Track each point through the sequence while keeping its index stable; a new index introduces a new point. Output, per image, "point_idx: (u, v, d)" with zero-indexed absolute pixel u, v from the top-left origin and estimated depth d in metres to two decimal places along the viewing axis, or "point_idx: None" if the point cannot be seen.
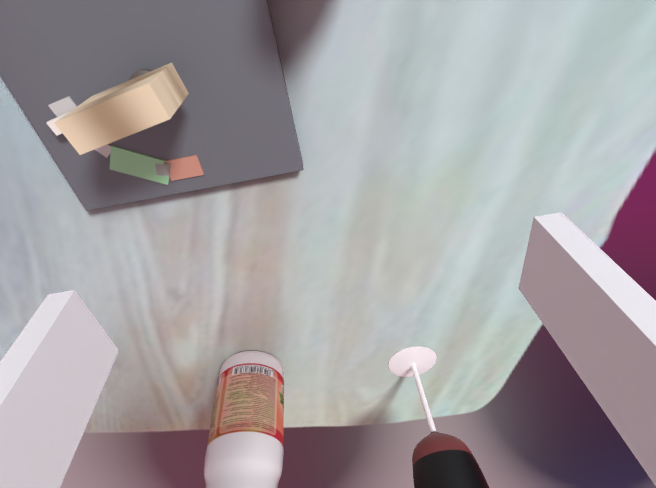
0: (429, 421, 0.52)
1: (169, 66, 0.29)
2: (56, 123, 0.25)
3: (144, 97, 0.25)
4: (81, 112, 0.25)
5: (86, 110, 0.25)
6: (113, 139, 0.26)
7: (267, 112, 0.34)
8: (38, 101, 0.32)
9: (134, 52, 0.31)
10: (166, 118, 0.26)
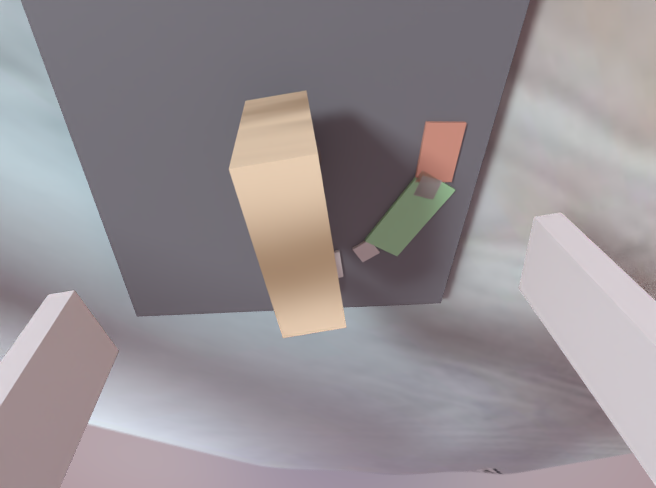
0: None
1: (246, 107, 0.14)
2: (284, 335, 0.14)
3: (259, 189, 0.11)
4: (272, 299, 0.13)
5: (270, 291, 0.13)
6: (333, 272, 0.13)
7: None
8: None
9: None
10: (313, 161, 0.10)
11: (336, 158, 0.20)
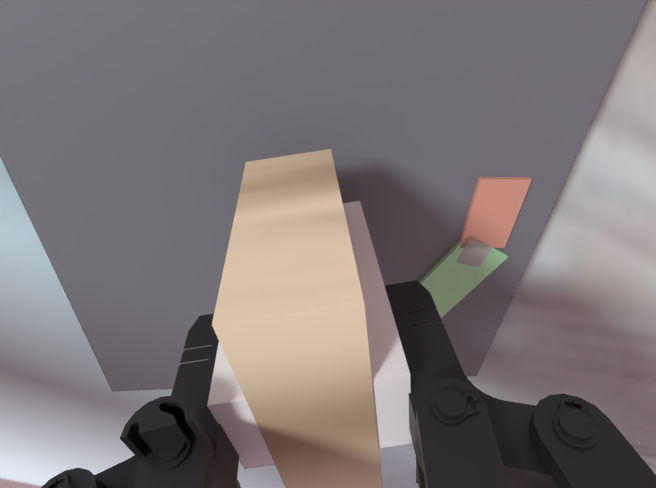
0: None
1: (246, 175, 0.10)
2: None
3: (262, 348, 0.06)
4: (279, 466, 0.09)
5: (276, 459, 0.09)
6: (372, 437, 0.09)
7: None
8: None
9: None
10: (355, 311, 0.06)
11: None
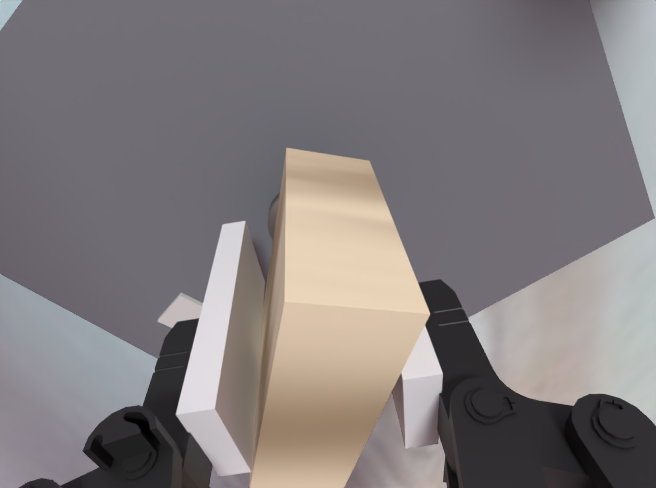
0: None
1: (289, 161, 0.10)
2: None
3: (316, 336, 0.06)
4: (257, 458, 0.09)
5: (259, 449, 0.09)
6: (360, 444, 0.09)
7: (564, 142, 0.14)
8: (141, 320, 0.18)
9: (256, 166, 0.14)
10: (417, 321, 0.06)
11: None
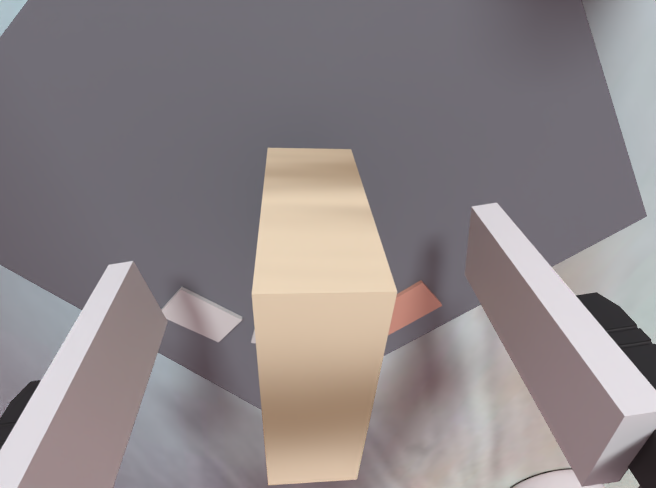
0: None
1: (269, 160, 0.10)
2: (271, 483, 0.10)
3: (291, 324, 0.07)
4: (267, 446, 0.09)
5: (266, 438, 0.09)
6: (363, 426, 0.09)
7: (558, 141, 0.14)
8: None
9: (256, 161, 0.14)
10: (387, 300, 0.07)
11: None
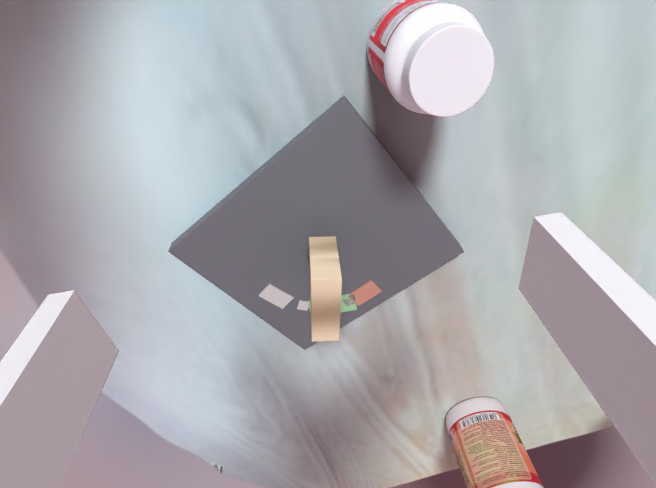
0: None
1: (310, 242, 0.34)
2: (312, 340, 0.34)
3: (319, 287, 0.30)
4: (312, 325, 0.33)
5: (312, 322, 0.33)
6: (338, 318, 0.33)
7: (416, 225, 0.38)
8: (251, 295, 0.42)
9: (303, 236, 0.38)
10: (340, 281, 0.30)
11: None
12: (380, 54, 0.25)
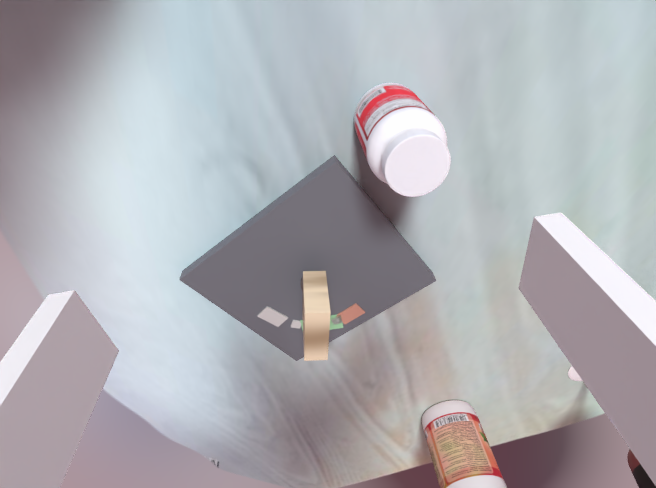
0: None
1: (304, 276, 0.40)
2: (305, 360, 0.40)
3: (311, 318, 0.37)
4: (304, 347, 0.39)
5: (305, 345, 0.39)
6: (327, 342, 0.39)
7: (395, 259, 0.44)
8: (251, 316, 0.48)
9: (297, 267, 0.44)
10: (328, 313, 0.36)
11: None
12: (364, 138, 0.31)
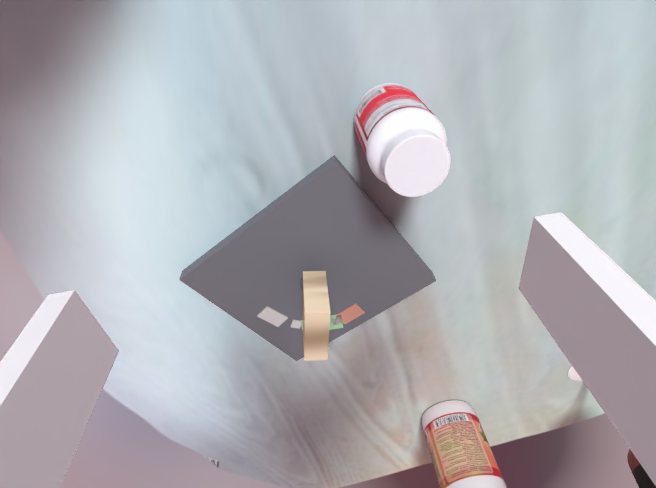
0: None
1: (304, 276, 0.40)
2: (305, 360, 0.40)
3: (311, 318, 0.37)
4: (304, 347, 0.39)
5: (304, 345, 0.39)
6: (327, 342, 0.39)
7: (395, 259, 0.44)
8: (251, 316, 0.48)
9: (297, 267, 0.44)
10: (328, 313, 0.36)
11: None
12: (363, 138, 0.31)
